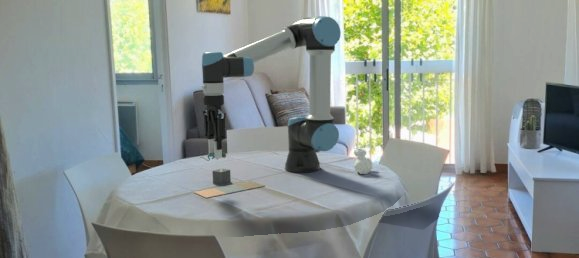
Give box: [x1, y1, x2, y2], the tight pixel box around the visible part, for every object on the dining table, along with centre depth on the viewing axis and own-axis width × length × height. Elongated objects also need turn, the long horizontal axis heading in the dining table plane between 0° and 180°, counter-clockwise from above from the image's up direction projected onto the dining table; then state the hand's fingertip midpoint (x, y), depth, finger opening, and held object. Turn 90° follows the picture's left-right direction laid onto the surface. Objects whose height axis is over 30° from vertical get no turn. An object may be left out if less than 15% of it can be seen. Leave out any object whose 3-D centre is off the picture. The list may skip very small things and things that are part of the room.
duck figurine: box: [353, 147, 373, 175], centre depth 238 cm, size 12×8×11 cm
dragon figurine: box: [199, 149, 227, 161], centre depth 210 cm, size 6×7×8 cm
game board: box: [193, 180, 266, 199], centre depth 216 cm, size 26×10×1 cm, turn 126°
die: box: [212, 168, 232, 185], centre depth 227 cm, size 5×5×5 cm
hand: (215, 157), depth 211 cm, fingers closed on dragon figurine, 4 cm apart
